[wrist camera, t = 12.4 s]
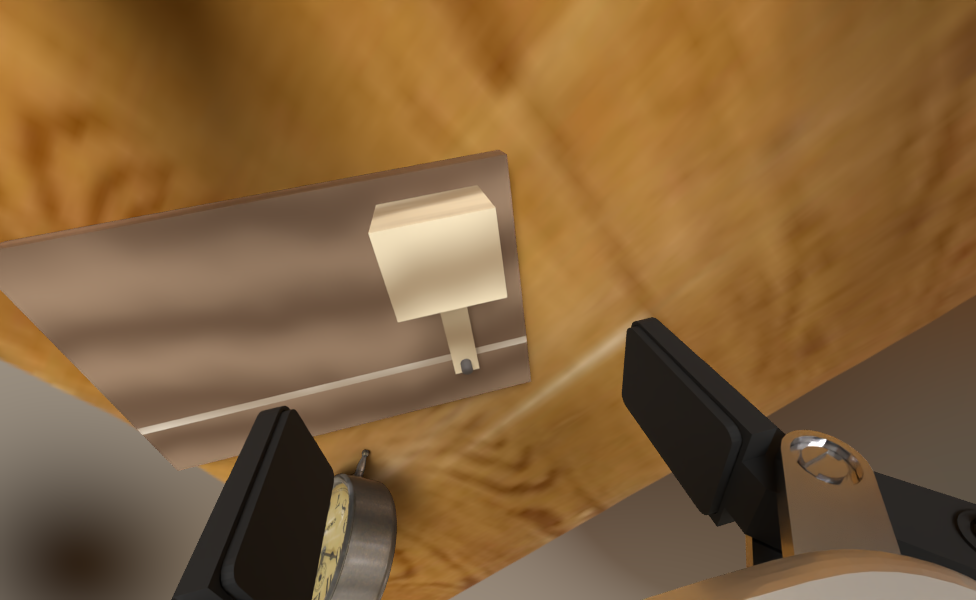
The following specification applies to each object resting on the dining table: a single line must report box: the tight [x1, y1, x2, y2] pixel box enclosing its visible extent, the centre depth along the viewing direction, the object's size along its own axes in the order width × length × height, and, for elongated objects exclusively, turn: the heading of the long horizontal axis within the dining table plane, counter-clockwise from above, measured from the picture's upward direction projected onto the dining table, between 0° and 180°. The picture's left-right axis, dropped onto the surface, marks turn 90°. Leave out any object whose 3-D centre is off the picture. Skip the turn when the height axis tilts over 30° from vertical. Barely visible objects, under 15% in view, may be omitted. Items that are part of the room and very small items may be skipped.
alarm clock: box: [312, 450, 397, 600], centre depth 28 cm, size 11×5×16 cm, turn 141°
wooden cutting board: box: [0, 150, 531, 471], centre depth 25 cm, size 18×28×2 cm, turn 98°
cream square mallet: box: [368, 185, 507, 375], centre depth 22 cm, size 13×6×5 cm, turn 8°
